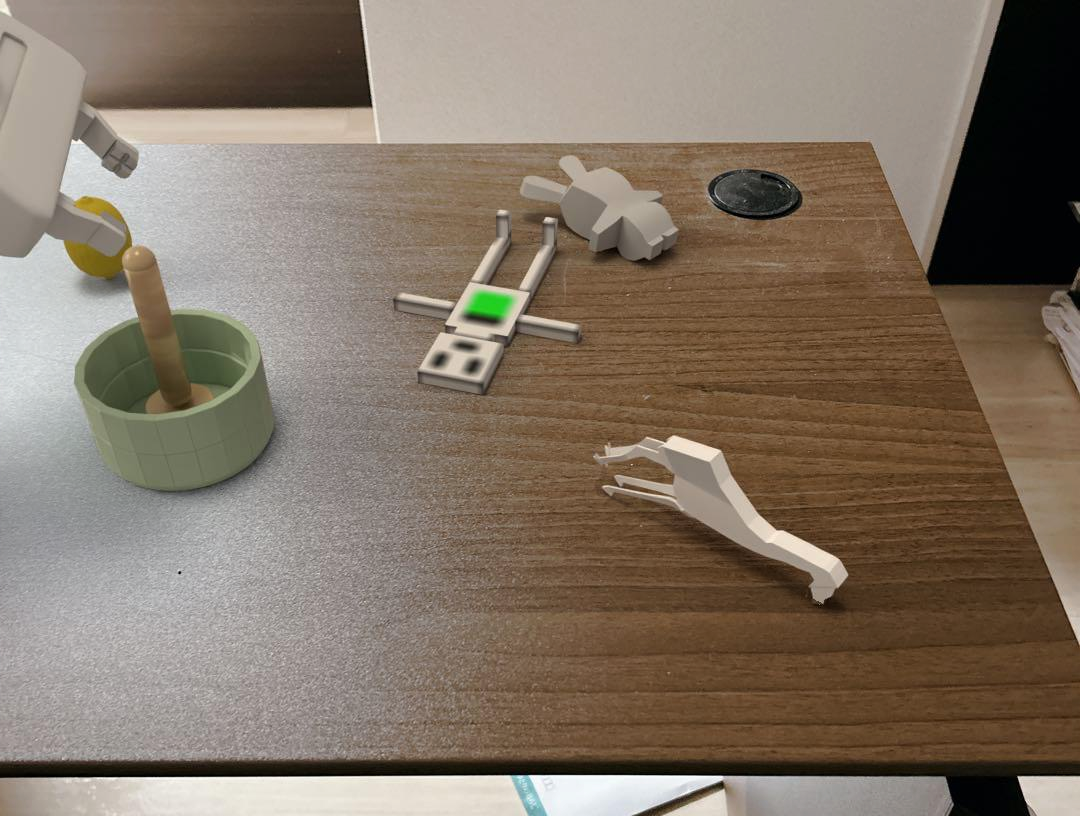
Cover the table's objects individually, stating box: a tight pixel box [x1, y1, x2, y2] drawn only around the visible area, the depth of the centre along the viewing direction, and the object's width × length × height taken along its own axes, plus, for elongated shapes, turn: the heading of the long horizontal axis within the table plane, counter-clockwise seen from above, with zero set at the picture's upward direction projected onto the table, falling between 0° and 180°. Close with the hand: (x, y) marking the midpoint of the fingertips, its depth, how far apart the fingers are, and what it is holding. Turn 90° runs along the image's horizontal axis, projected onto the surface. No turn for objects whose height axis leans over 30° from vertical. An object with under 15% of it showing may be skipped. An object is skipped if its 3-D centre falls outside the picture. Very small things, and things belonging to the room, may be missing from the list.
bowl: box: [73, 308, 275, 492], centre depth 84 cm, size 13×13×7 cm
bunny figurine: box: [518, 154, 680, 261], centre depth 105 cm, size 10×5×15 cm
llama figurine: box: [592, 435, 849, 605], centre depth 77 cm, size 2×11×18 cm
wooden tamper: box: [122, 244, 214, 414], centre depth 80 cm, size 5×5×16 cm
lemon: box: [62, 195, 133, 281], centre depth 98 cm, size 6×6×8 cm
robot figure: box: [392, 209, 583, 396], centre depth 97 cm, size 16×3×22 cm
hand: (128, 203), depth 72 cm, fingers open, 8 cm apart
